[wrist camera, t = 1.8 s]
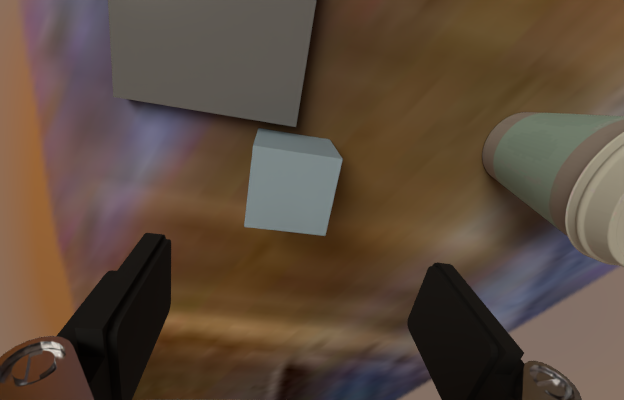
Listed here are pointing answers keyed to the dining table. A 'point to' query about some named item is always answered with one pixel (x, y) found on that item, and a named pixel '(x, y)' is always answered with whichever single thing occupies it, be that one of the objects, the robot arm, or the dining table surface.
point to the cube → (291, 182)
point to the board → (213, 55)
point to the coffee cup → (566, 175)
